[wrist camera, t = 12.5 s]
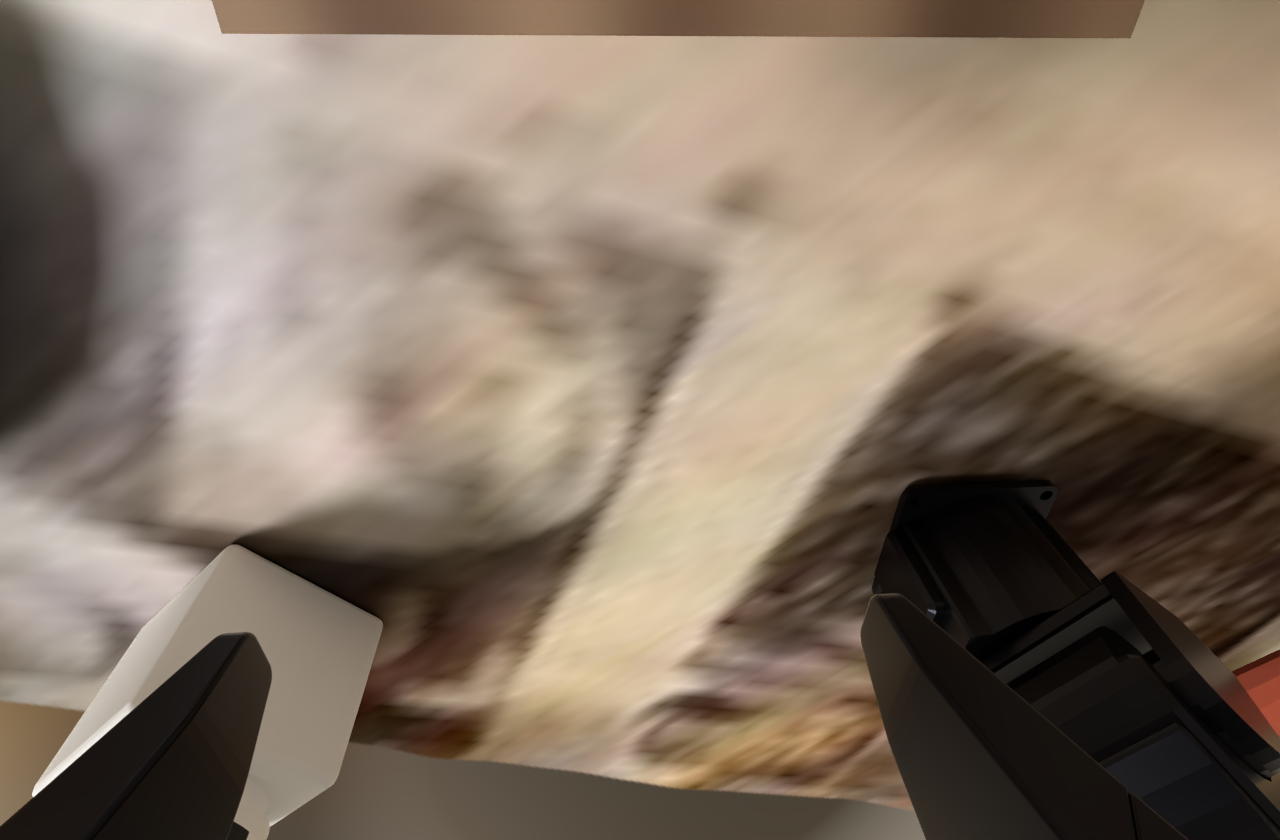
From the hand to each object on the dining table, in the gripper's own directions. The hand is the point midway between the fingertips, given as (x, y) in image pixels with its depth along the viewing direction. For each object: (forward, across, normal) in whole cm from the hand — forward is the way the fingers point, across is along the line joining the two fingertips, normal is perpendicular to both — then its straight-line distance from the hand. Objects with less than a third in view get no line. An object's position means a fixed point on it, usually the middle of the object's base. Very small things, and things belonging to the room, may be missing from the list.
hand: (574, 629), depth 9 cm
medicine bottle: (+13, +14, +15) cm, 24 cm away
